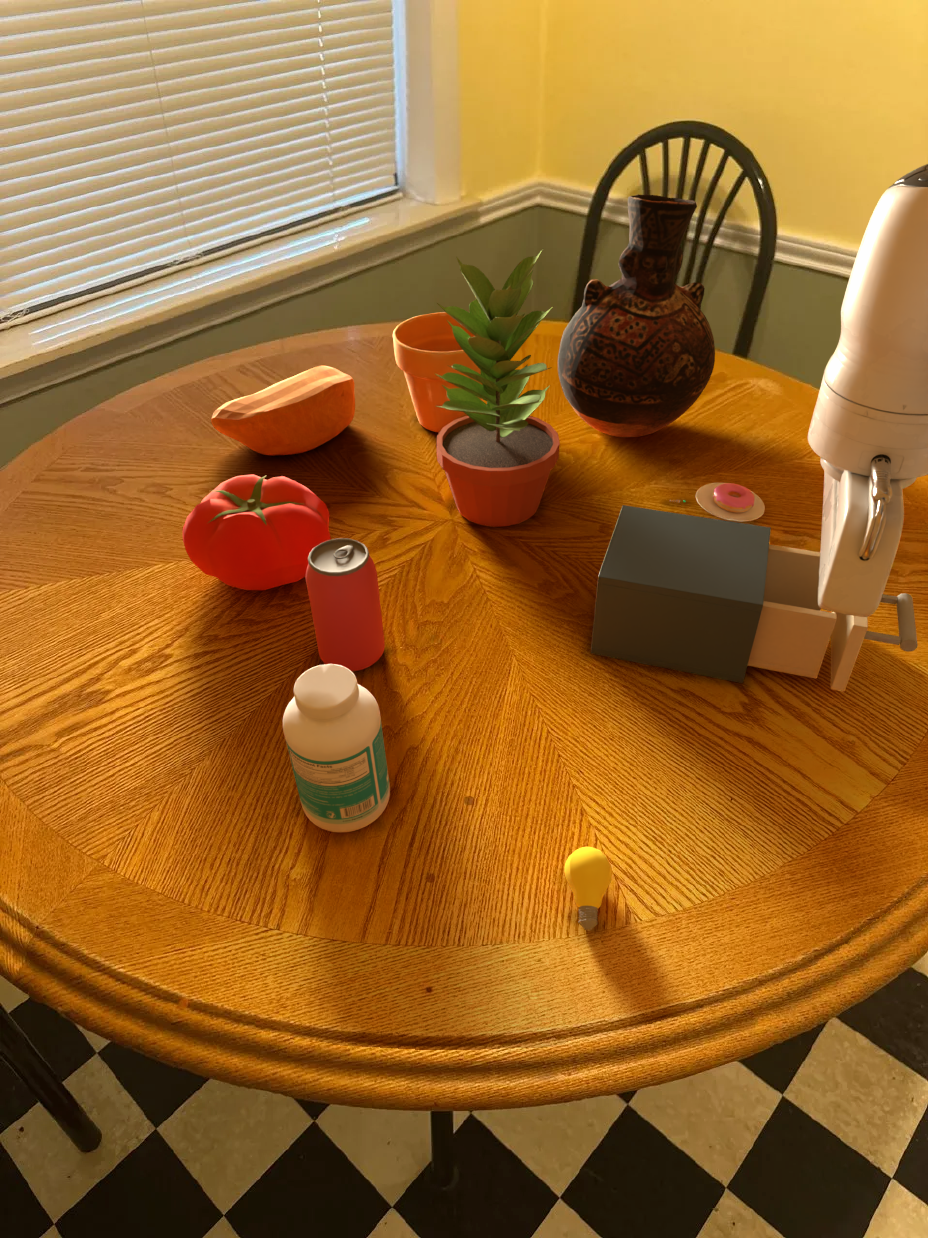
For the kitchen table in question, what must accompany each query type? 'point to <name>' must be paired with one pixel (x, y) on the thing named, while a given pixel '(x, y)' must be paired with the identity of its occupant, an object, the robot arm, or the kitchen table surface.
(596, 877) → the light bulb
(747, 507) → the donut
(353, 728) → the pill bottle
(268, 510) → the tomato
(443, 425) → the flower pot
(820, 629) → the wooden pull-out drawer
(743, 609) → the drawer cabinet
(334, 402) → the orange oblong lump
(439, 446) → the potted plant
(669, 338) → the ceramic vessel
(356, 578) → the beer can
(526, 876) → the kitchen table surface
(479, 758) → the kitchen table surface
